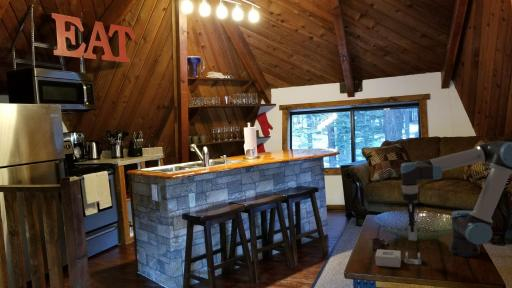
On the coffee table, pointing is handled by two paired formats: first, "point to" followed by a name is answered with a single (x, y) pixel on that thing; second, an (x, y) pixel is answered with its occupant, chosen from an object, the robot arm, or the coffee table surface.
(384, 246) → the electronic device
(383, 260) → the panel
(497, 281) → the coffee table surface
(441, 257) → the coffee table surface
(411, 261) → the holster
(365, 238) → the coffee table surface
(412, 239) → the plug
